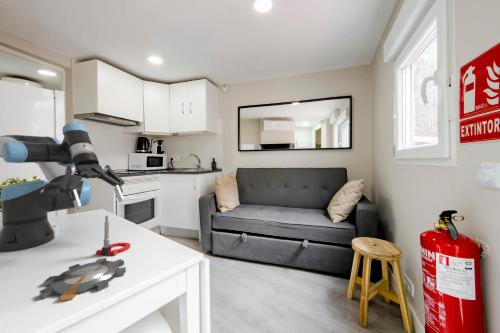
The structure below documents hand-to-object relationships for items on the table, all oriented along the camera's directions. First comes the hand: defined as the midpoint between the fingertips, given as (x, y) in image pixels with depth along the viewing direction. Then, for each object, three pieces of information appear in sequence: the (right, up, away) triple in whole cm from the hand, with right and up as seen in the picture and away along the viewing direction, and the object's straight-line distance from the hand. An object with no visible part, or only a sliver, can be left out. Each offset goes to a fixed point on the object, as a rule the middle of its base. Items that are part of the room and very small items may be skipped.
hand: (101, 204), depth 75 cm
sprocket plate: (+11, -16, -20) cm, 28 cm away
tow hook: (+7, -16, -3) cm, 17 cm away
